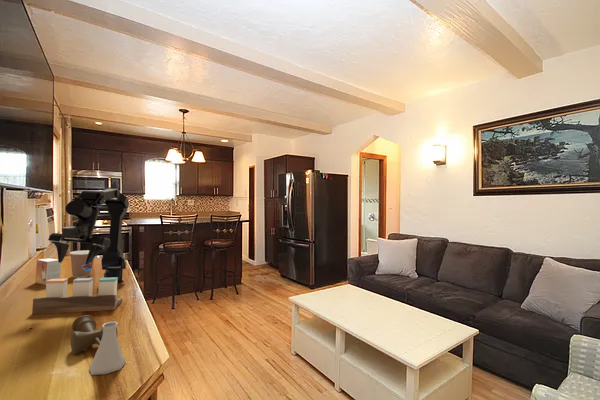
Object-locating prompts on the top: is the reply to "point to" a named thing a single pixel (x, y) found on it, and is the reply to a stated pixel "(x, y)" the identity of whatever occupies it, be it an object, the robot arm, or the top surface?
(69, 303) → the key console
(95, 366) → the flask
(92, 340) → the kendama
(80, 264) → the coffee cup
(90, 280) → the grey key
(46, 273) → the small box
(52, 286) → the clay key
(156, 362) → the top surface
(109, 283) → the teal key
